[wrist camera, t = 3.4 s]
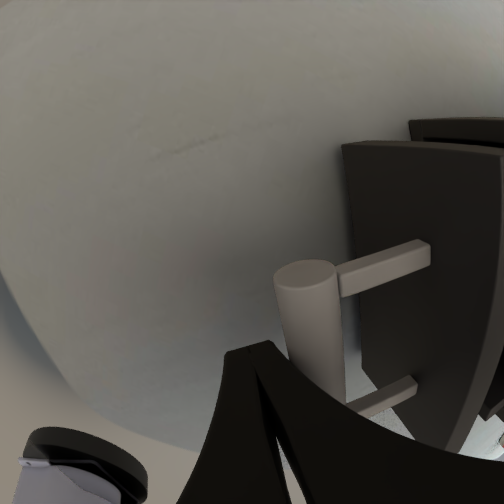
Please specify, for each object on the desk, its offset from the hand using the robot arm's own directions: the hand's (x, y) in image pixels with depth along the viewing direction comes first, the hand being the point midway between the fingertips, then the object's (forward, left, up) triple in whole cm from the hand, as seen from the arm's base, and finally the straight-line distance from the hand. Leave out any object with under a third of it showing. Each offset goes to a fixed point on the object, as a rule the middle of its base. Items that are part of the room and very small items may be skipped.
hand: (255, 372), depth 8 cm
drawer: (+9, 0, -3) cm, 10 cm away
